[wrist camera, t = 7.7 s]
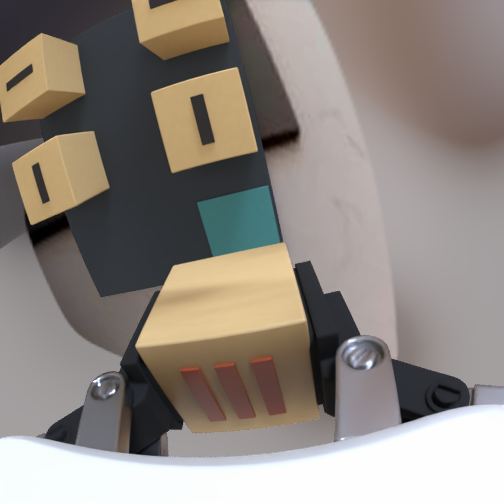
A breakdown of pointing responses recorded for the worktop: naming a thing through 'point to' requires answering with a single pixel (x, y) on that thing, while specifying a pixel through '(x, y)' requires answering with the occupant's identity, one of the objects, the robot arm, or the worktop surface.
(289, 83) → the worktop surface
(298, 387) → the striped wooden cube
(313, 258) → the worktop surface
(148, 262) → the grey board with cubes
